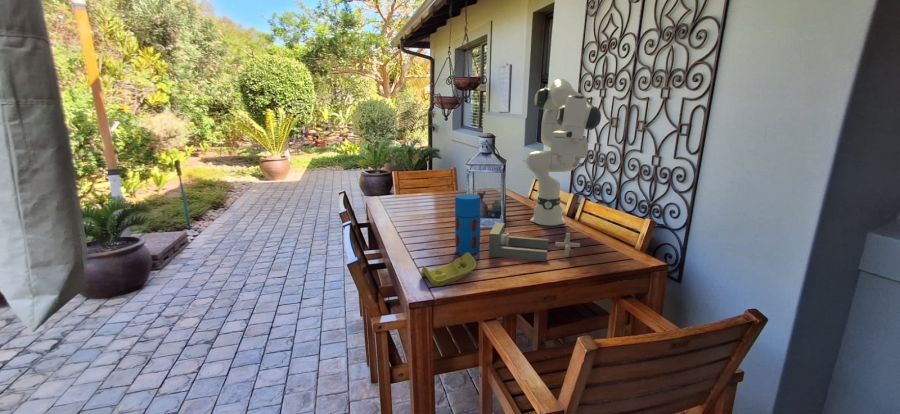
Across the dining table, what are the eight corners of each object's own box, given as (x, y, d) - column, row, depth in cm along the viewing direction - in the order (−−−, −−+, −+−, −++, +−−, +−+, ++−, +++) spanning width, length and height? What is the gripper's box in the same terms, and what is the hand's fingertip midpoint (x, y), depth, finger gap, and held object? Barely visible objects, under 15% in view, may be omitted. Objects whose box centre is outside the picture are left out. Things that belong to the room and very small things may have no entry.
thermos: (464, 258, 168) (464, 200, 162) (450, 250, 176) (450, 195, 170) (484, 252, 174) (485, 197, 167) (470, 246, 182) (470, 192, 176)
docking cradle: (495, 243, 186) (495, 222, 183) (548, 247, 179) (549, 226, 177) (488, 255, 170) (489, 233, 168) (546, 261, 164) (547, 238, 161)
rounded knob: (493, 243, 180) (493, 229, 179) (509, 244, 179) (509, 230, 177) (491, 247, 174) (491, 233, 173) (507, 249, 173) (507, 235, 171)
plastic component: (435, 283, 139) (422, 263, 145) (432, 296, 143) (419, 277, 149) (480, 267, 149) (466, 249, 155) (476, 280, 153) (462, 262, 159)
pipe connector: (580, 260, 164) (581, 237, 161) (555, 259, 166) (556, 236, 163) (577, 252, 173) (579, 230, 171) (553, 251, 175) (555, 229, 173)
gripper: (581, 136, 176) (577, 167, 178) (550, 132, 164) (546, 165, 166) (593, 136, 171) (589, 168, 173) (562, 132, 159) (557, 167, 161)
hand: (567, 167), depth 170 cm, fingers open, 8 cm apart
